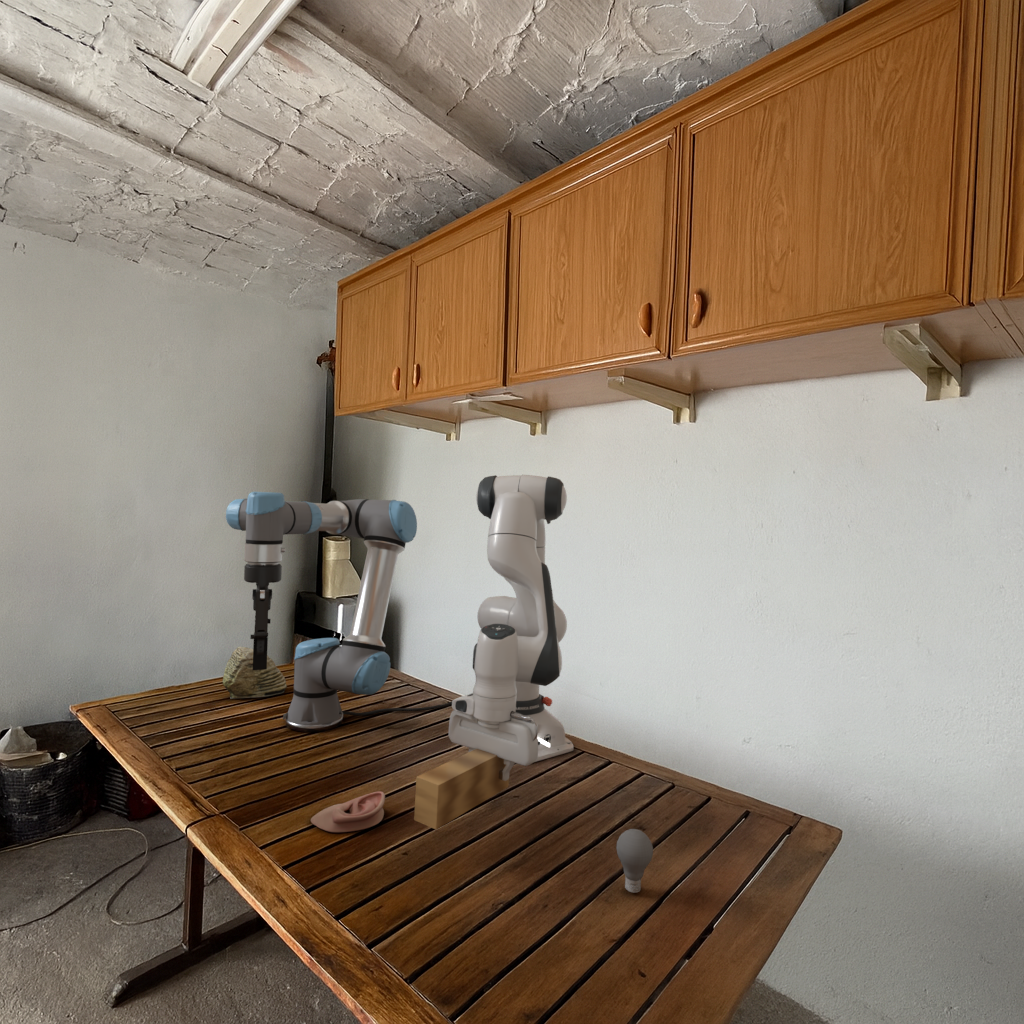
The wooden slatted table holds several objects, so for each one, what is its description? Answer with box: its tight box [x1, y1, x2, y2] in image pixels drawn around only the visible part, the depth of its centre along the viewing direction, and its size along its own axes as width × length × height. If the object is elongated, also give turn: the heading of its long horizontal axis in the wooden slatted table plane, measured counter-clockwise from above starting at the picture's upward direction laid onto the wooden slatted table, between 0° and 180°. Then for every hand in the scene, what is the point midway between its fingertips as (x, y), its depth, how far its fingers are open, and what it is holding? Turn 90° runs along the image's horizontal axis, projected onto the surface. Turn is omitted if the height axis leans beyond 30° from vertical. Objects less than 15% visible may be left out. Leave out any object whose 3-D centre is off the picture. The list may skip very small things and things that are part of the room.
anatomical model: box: [310, 790, 386, 833], centre depth 125 cm, size 13×4×12 cm
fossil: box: [222, 646, 288, 699], centre depth 198 cm, size 9×18×15 cm, turn 132°
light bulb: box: [615, 828, 654, 894], centre depth 106 cm, size 6×6×10 cm
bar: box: [413, 749, 510, 830], centre depth 121 cm, size 22×5×8 cm, turn 146°
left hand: (259, 661), depth 137 cm, fingers open, 13 cm apart
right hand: (490, 774), depth 128 cm, fingers closed on bar, 5 cm apart
